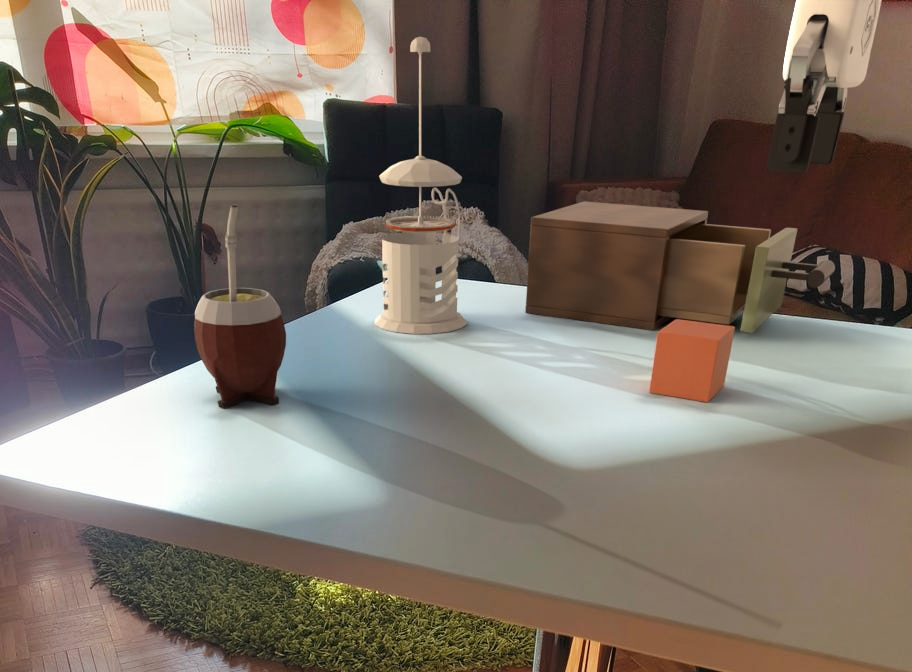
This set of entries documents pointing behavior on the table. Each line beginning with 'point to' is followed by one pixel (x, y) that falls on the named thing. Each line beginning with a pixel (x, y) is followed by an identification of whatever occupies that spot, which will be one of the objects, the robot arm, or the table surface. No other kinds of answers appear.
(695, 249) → the drawer
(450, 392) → the table surface
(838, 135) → the robot arm
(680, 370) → the block
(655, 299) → the cabinet
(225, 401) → the mate gourd
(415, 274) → the french press
